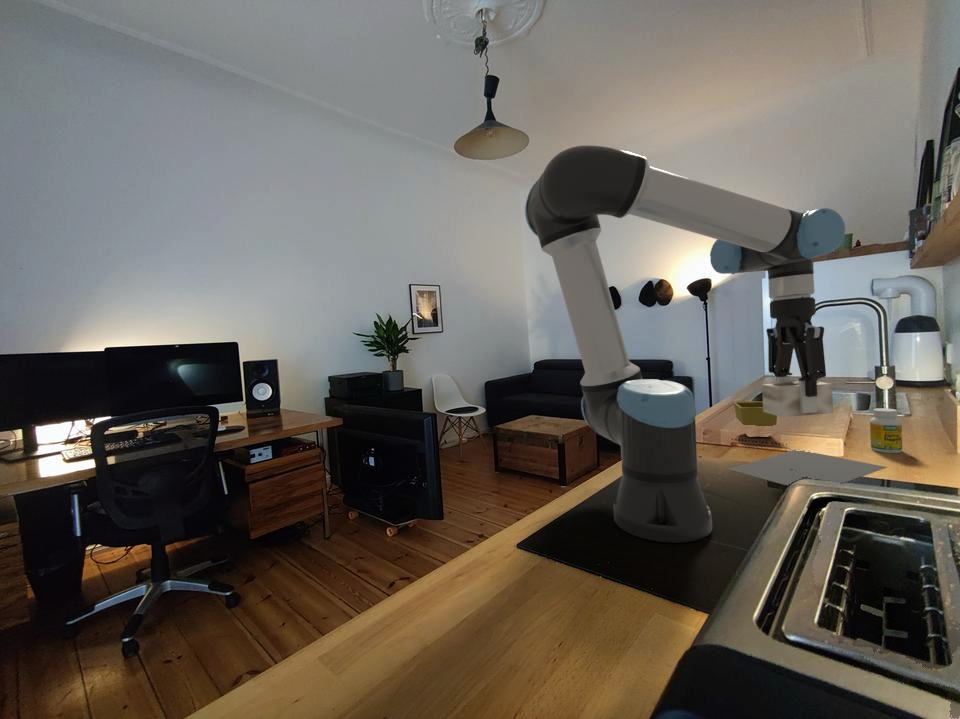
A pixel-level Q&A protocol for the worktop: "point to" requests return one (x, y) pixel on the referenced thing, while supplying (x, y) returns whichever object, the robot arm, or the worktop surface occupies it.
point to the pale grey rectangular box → (794, 399)
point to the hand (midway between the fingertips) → (796, 409)
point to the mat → (806, 468)
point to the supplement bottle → (886, 431)
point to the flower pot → (753, 414)
